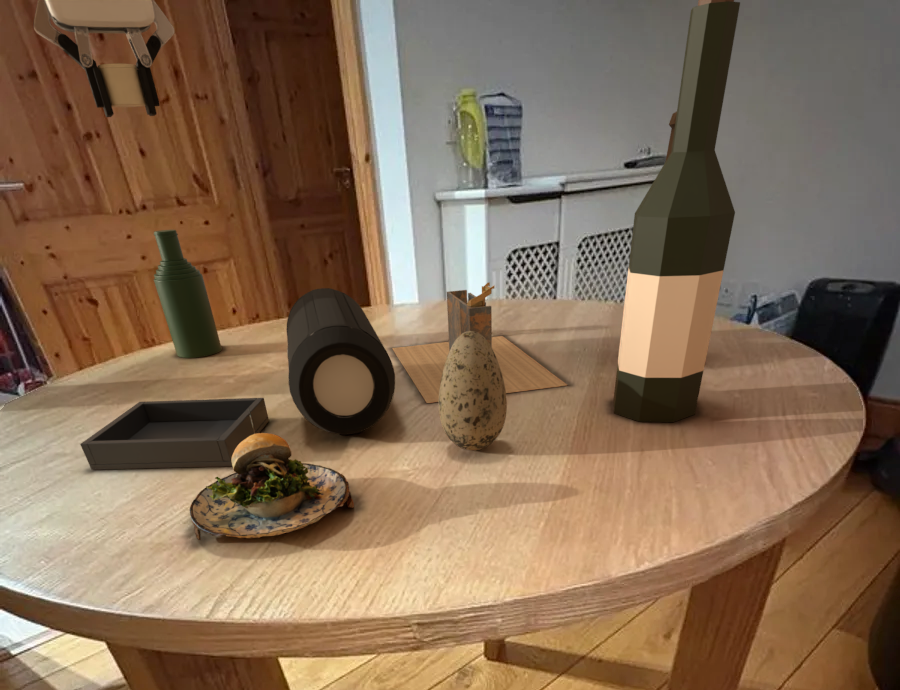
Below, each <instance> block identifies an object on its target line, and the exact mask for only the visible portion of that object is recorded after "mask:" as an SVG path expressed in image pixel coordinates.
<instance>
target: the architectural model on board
mask: <svg viewBox="0 0 900 690" xmlns="http://www.w3.org/2000/svg"><path fill="white" fill-rule="evenodd" d="M493 289H495V285H492V286H491V282H487V283H485V284H484V285H481V293H480V294H478V295H477V296H476V295H474V294H473V293H472V292H468V290H467V289H460V290H450V291H446V308H447V328H448V329H447V330H448V341H444V342H443V341H442V342H436V343H435V342H433V343H425V344H416V345H409V346H399V347H392V348H391V349H392V351H393V352H394V354H395V355H396V357H397V359H398V360H399V362H400V363H401V365H402V366H403V368H404V370H405V371H406V372H407V374H408V376H409V377H410V379H411V381H412V382H413V384H414V386H415V387H416V389H417V390H418V391H419V393H420V395H421V397H422V398H423V400H424V402H426V404H432V403H439V389H440V383H441V378H442V373H443V369H444V366H445V362H446V359H447V356H448V354H449V351H450V349H451V347H452V345H453V344H454V342H455V340H456V339H457V338H458V337H459V336H460V335H461V334H462V333H464V332H467V331H475V332H478V333H480V334H481V335H482V336H483V337H484V338H485V339H486V340H487V341H488V343H489V344H490V346H491V348H492V349H493V351H494V353H495V355H496V358H497V360H498V363H499V366H500V369H501V372H502V376H503V380H504V384H505V390H506V394H510V393H511V394H512V393H517V392H519V393H520V392H526V391H534V390H542V389H543V390H544V389H550V388H558V387H565V386H568V383H566V382H564V381H563V380H562V379H560V378H559V377H558V376H556V375H555V374H554V373H552V372H551V371H549V370H548V369H547V368H546V367H544V366H543V365H542V364H540V363H539V362H537V361H536V360H535V359H534V358H532V357H531V356H530V355H528V354H527V353H526V352H525V351H523V350H522V349H521V348H519V347H518V346H516V345H515V344H514V343H512V342H511V341H510V340H508V339H507V338H506V337H504V336H503V335H499V336H498V335H495V336H493V335H492V333H493V332H492V329H493V328H492V323H493V322H492V317H493V316H492V305H487V302H486V298H487V297H488V296H490V295H491V294H492V290H493Z"/></svg>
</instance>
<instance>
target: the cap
mask: <svg viewBox="0 0 900 690" xmlns="http://www.w3.org/2000/svg"><path fill="white" fill-rule="evenodd" d="M97 67H98V69H100V70H101V73H102V76H103V79H104V83H105V86H106V89H107V93H108V96H109V99H110V103H111V106H112V108H136V107H137V108H138V107H145V106H146V105H147V104H146V100H145V97H144V93H143V89H142V86H141V82H140V78H139V75H138V71H137V66H136V64H132V63H104V64H98V65H97Z"/></svg>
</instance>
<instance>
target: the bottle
mask: <svg viewBox="0 0 900 690" xmlns="http://www.w3.org/2000/svg"><path fill="white" fill-rule="evenodd" d="M153 236H154V237H155V238H154V239H155V241H156V244H157V248H158V252H159V256H160V258H161V260H160V261H159V265H157V269H155V273H154V274H153V277H154V279H153V282H154V285H155V289H156V292H157V295H158V298H159V302H160V305H161V308H162V312H163V314H164V318H165V321H166V324H167V327H168V331H169V334H170V337H171V340H172V344H173V346H174V350H175V353H176V356H177V357H179V358H183V359H196V358H203V357H208V356H212V355H216V354H218V353H220V352H221V351H222V350H223V348H222V344H221V341H220V337H219V334H218V333H219V332H218V329H217V325H216V322H215V318H214V314H213V311H212V306H211V303H210V298H209V296H208V291H207V288H206V284H205V280H204V276H203V273H201V272H200V269H198V268H196V266H195V265H193V264H192V262H191V261H188V258H185V257H184V255H183V250H182V248H181V244H180V240H179V234H178V231H177V230H176V229H161V230H155V231H153Z"/></svg>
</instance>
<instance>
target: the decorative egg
mask: <svg viewBox="0 0 900 690" xmlns="http://www.w3.org/2000/svg"><path fill="white" fill-rule="evenodd" d="M507 400H508V399H507V393H506V390H505V384H504V380H503V376H502V372H501V369H500V366H499V363H498V360H497V358H496V355H495V353H494V351H493V349H492V348H491V346H490V344H489V343H488V341H487V340H486V339H485V338H484V337H483V336H482V335H481V334H480V333H478V332H475V331H467V332H464V333H462V334H461V335H460V336H459V337H458V338H457V339H456V340H455V342H454V344H453V345H452V347H451V349H450V351H449V354H448V356H447V359H446V362H445V366H444V369H443V373H442V378H441V383H440V389H439V402H438V415H439V420H440V424H441V427H442V429H443V431H444V433H445V435H446V436H447V437H448V440H450V441H451V442H452V443H453V444H455V445H456V446H457V447H459V448H461V449H464V450H466V451H479V450H480V451H481V450H483V449H485V448H487V447H489V446H490V445H491V444H492V443H494V442H495V441H496V440H497V438H498V437H499V435H500V434H501V432H502V431H503V428H504V427H505V426H504V425H505V422H506V418H507V408H508V403H507V402H508V401H507Z"/></svg>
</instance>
